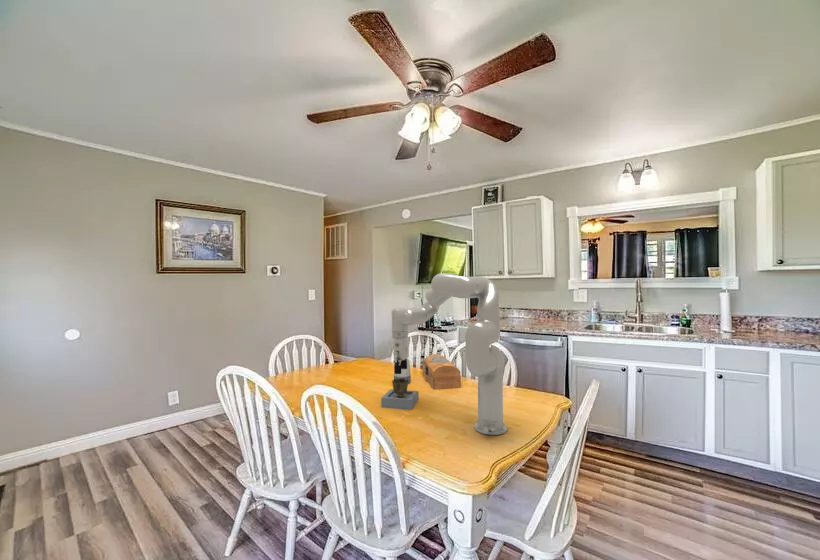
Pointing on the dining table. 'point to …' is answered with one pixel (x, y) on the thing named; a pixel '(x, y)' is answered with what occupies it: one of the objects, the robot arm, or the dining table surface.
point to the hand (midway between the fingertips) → (400, 371)
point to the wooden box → (441, 372)
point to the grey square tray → (400, 400)
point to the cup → (400, 387)
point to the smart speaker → (404, 373)
